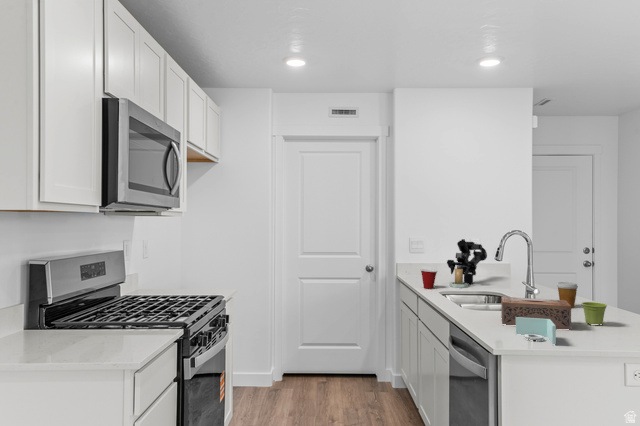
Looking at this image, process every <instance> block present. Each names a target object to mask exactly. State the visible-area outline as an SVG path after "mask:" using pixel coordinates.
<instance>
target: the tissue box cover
mask: <svg viewBox="0 0 640 426" xmlns="http://www.w3.org/2000/svg"><path fill="white" fill-rule="evenodd" d="M500 298H501V304H500V305H501V306H500V307H501V309H500V310H501V318H502V319H501V324H506V325H516V317H523V318H539V319H550V320H551V321H552V322H553V323H554V325H555V326H556V330H557V329H569V330H568V331H570V330H571V331H572V308H571V306H570V305H569V304H568V302H567V301H566V300H559V299H549V298H547V299H546V298H529V297H511V296H510V297H509V296H501V297H500Z"/></svg>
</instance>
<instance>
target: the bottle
mask: <svg viewBox="0 0 640 426" xmlns="http://www.w3.org/2000/svg"><path fill="white" fill-rule="evenodd" d="M454 282H455V284H463V283H464V275H463V269H461V266H458V265H456V268H455V269H454Z"/></svg>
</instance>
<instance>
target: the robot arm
mask: <svg viewBox="0 0 640 426" xmlns="http://www.w3.org/2000/svg"><path fill="white" fill-rule="evenodd" d="M456 245H457V248H458V250H459V251H460V252H456V253H455V256H454V257H455V259H456V261H455V260H454V259H447V260H446V264H447V266H448V268H449V269H450V274H451V275H453V273H454V272H455V269H456V266H461V269H463V283H467V284H468V285H475V284H476V282H474V276H476V275H477V272H476V270H477V267H478V266H477V265H478V264H479V263H480V262H482V261H485V260H486V259H487V258H488V253H487V250H486V249H485V248H484V246H483V245H482V244H480V243H475V242H473V241H466V239H463V238H462V239H461V240H459V241H458V242H457V244H456ZM476 250H477V251H476ZM471 251H473V253H472V255H473V257H472V258H471V259H470V260H469V258H470V256H471Z"/></svg>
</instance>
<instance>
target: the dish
mask: <svg viewBox="0 0 640 426" xmlns="http://www.w3.org/2000/svg"><path fill="white" fill-rule="evenodd" d="M449 286H450V288H455V289H456V288H457V289H465V288H468V287H469V284H467V283H464V282H463V284H455V281H452V282H449Z"/></svg>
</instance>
